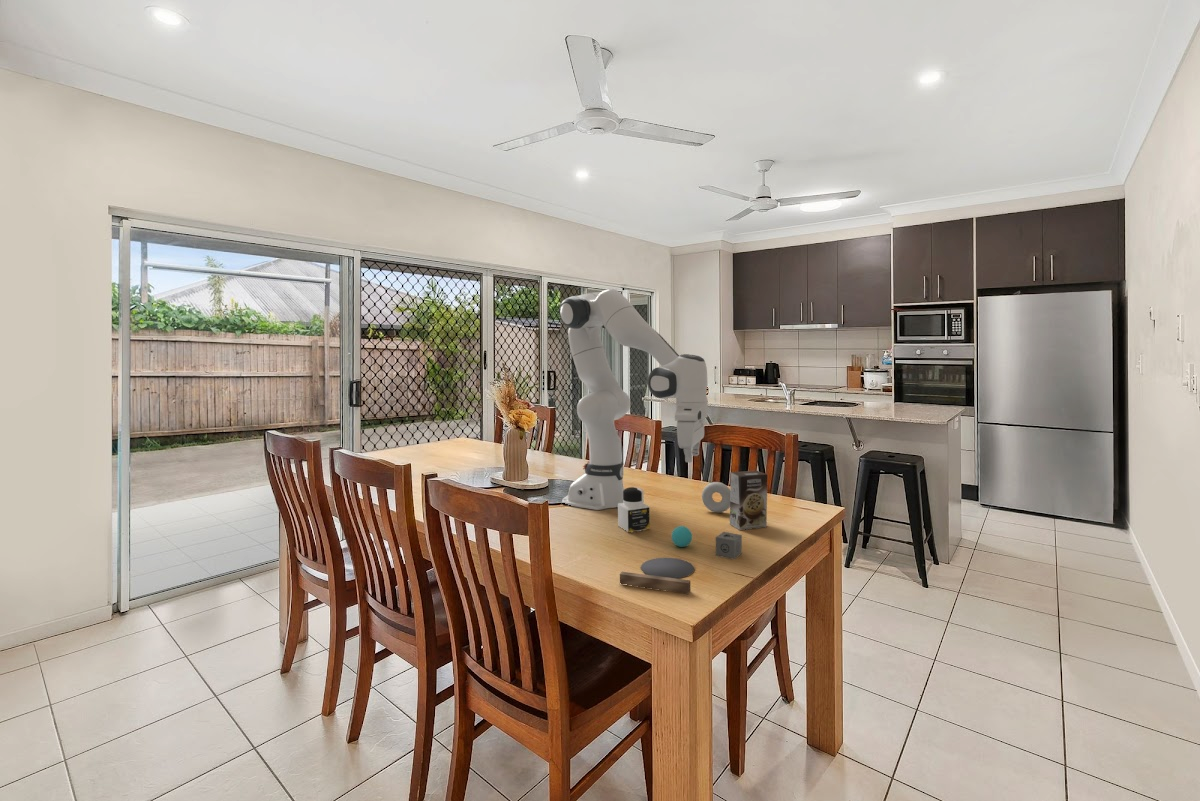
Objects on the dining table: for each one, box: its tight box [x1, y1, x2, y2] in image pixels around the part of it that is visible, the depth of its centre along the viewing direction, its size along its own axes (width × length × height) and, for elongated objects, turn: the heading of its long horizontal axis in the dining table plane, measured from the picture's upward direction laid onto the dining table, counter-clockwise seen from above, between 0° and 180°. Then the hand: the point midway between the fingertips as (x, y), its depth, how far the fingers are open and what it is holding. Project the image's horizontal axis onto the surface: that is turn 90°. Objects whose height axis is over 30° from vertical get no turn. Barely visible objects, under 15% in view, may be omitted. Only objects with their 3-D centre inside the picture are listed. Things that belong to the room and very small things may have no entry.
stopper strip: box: [619, 571, 691, 595], centre depth 131 cm, size 16×2×2 cm, turn 70°
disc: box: [640, 557, 695, 579], centre depth 142 cm, size 13×13×1 cm
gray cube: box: [715, 531, 743, 560], centre depth 150 cm, size 5×5×5 cm
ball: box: [671, 525, 693, 548], centre depth 157 cm, size 6×6×6 cm
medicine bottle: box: [617, 486, 650, 533], centre depth 173 cm, size 7×7×12 cm
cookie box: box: [729, 470, 768, 531], centre depth 172 cm, size 9×6×16 cm
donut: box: [701, 481, 730, 514], centre depth 187 cm, size 10×4×10 cm, turn 64°
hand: (692, 458), depth 168 cm, fingers open, 8 cm apart
